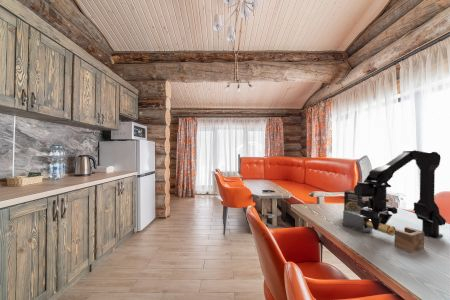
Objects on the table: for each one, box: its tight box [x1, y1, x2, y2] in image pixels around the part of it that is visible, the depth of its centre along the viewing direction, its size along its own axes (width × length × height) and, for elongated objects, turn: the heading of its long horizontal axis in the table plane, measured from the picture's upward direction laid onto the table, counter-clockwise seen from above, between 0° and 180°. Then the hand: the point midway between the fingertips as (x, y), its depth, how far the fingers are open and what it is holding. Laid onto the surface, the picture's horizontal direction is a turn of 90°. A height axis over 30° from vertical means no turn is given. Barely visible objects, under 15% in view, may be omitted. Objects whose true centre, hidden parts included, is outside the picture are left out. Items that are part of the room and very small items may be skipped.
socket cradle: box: [394, 226, 425, 254], centre depth 87 cm, size 9×6×7 cm, turn 113°
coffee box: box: [343, 189, 365, 212], centre depth 121 cm, size 9×6×16 cm
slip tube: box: [365, 218, 397, 237], centre depth 102 cm, size 4×20×4 cm, turn 23°
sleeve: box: [342, 209, 373, 234], centre depth 108 cm, size 7×11×8 cm, turn 23°
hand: (378, 229), depth 98 cm, fingers closed on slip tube, 4 cm apart
